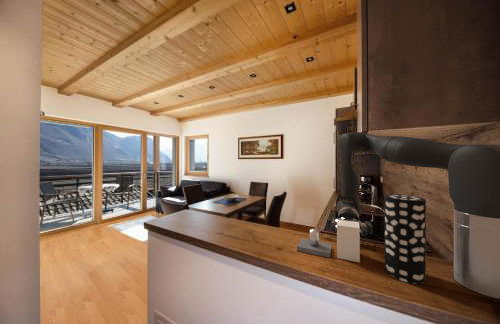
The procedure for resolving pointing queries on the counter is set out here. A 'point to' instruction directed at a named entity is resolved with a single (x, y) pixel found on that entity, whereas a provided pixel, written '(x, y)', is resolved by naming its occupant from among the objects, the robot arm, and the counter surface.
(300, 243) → the base plate
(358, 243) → the block
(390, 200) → the white-spotted black cylinder
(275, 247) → the counter surface
